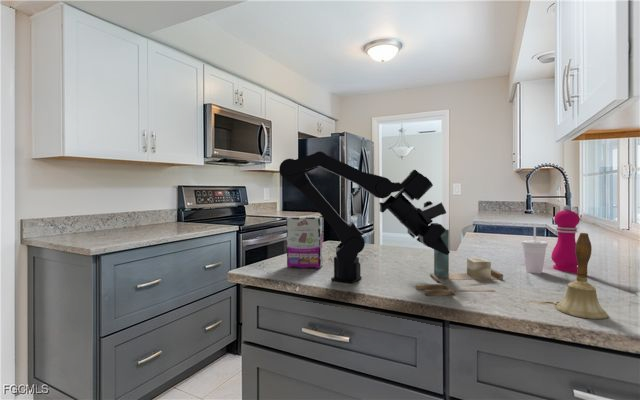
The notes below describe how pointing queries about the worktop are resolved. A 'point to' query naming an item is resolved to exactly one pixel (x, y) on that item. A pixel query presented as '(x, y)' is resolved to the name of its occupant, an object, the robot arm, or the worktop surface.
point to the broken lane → (445, 289)
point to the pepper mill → (565, 241)
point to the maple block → (479, 268)
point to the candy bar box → (304, 242)
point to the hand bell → (582, 287)
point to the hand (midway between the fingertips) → (446, 252)
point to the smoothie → (534, 254)
